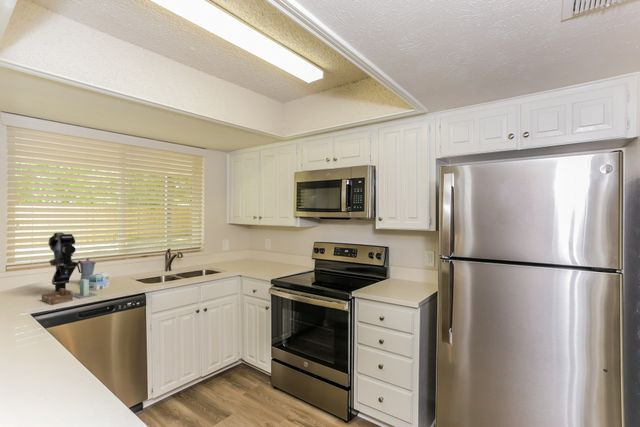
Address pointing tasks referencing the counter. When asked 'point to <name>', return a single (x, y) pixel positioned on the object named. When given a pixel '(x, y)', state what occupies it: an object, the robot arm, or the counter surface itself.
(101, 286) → the light bulb box
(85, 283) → the grey-green rectangular block
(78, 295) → the mat
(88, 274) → the moka pot
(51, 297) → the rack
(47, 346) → the counter surface
